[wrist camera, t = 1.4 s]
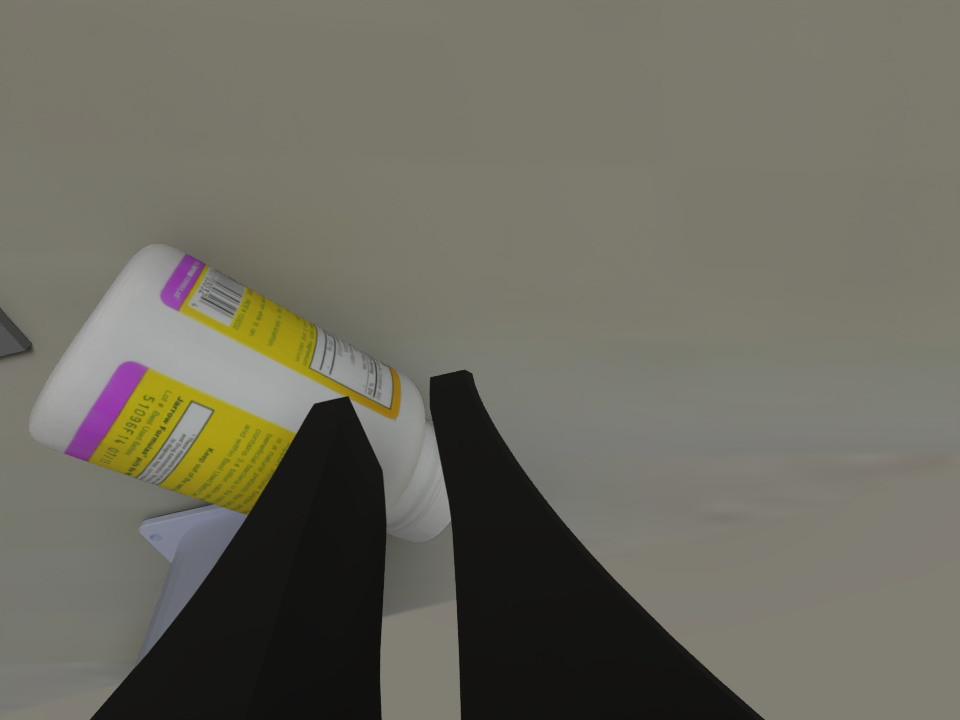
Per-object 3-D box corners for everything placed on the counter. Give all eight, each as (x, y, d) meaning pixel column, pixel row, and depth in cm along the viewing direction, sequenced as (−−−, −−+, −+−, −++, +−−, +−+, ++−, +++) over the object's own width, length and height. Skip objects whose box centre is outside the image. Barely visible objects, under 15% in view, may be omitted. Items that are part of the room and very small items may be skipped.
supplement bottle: (17, 446, 16) (367, 565, 23) (7, 420, 11) (460, 582, 18) (135, 275, 19) (416, 421, 26) (168, 195, 14) (508, 401, 21)
